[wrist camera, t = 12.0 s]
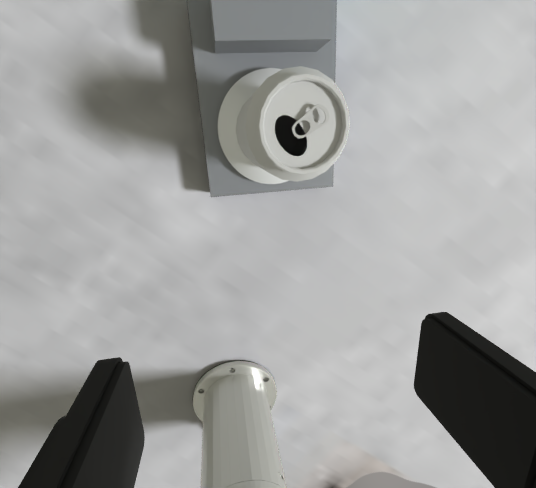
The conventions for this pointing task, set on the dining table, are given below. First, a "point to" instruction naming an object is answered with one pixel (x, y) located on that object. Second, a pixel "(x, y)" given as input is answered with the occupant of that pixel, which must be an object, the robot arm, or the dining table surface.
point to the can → (294, 124)
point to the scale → (253, 75)
